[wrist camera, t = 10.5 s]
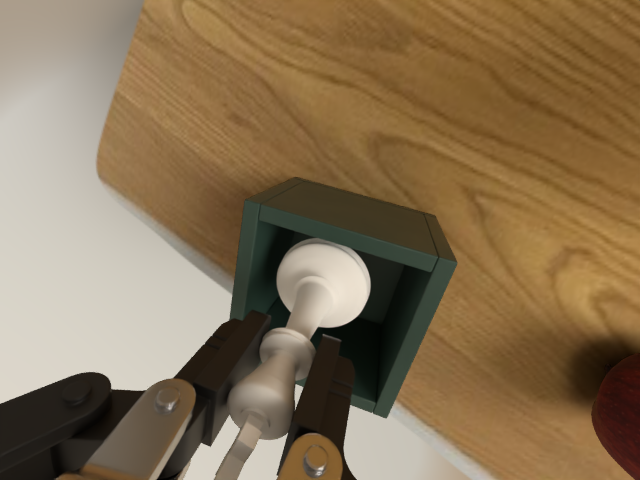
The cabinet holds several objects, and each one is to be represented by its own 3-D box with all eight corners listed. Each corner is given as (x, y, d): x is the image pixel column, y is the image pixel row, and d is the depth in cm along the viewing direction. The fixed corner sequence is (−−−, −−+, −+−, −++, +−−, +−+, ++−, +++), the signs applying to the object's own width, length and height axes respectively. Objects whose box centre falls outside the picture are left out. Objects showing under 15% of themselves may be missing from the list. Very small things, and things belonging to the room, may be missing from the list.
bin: (273, 292, 24) (223, 357, 17) (295, 176, 20) (244, 199, 13) (389, 332, 23) (386, 419, 16) (435, 215, 19) (458, 262, 12)
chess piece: (389, 269, 14) (375, 504, 5) (341, 336, 16) (272, 589, 7) (303, 219, 15) (148, 362, 6) (266, 291, 17) (108, 483, 8)
